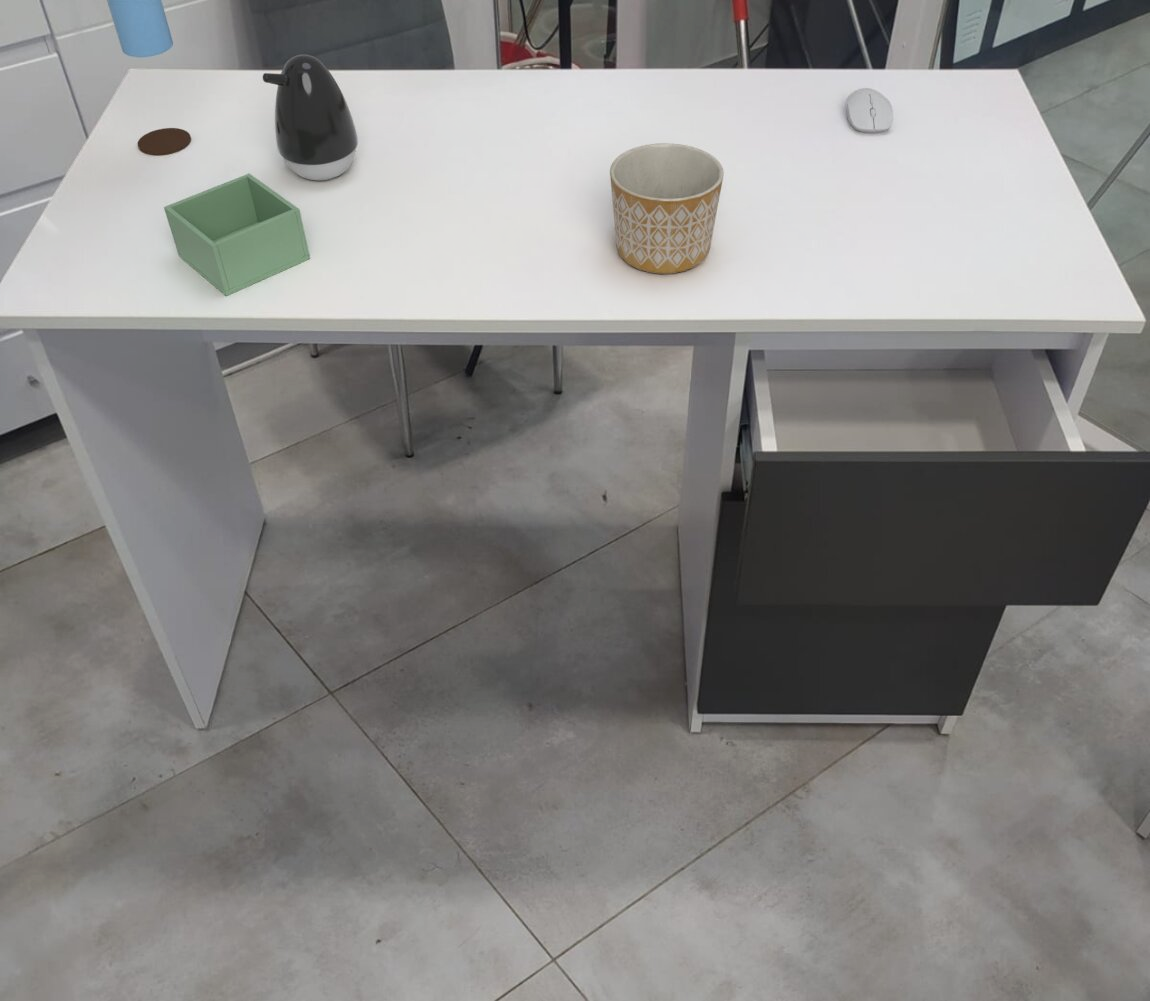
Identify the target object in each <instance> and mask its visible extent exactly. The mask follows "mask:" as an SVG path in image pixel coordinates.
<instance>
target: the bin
mask: <svg viewBox="0 0 1150 1001" xmlns="http://www.w3.org/2000/svg"><path fill="white" fill-rule="evenodd" d="M163 210H164V212H165V216H166V219H167V222H168V225H169V229H170V231H171V232H170V233H171V236H172V238H173V241H174V242H173V243H174V245H175V248H176V252H177V254H178V257H179V258H180V259H181V260H183V262H185V263H186V264H187V265H188V266H190V267H191V268H192V269H193V270H195V271H196V272H197V273H198V274H199V275H201V276H202V278H204V279H205V280H206V281H207V282H208V283H210V284H211V285H212V286H214V288H215V289H216V290H218V291H219V292H221V293H222V294H223V295H224V296H225V297H228V296H230V295H232V294H234V293H236V292H237V293H238V291H241V290H243V289H246V288H248V287H250V286H252V285H254V284H257V283H259V282H262V281H263V280H266V279H268V278H270V277H273V276H274V275H277V274H279V273H282V272H283V271H285V270H287V269H290V268H293V267H294V266H296V265H297V266H298V265H299V264H301V263H303V262H306V261H308V260H310V259H311V256H310V251H309V247H308V242H307V237H306V234H305V233H306V232H305V229H304V224H303V219H302V214H301V209H300V208H299V207H297V206H296V205H295V204H293V203H292V202H290V201H289V200H288V199H286V198H285V197H283V196H282V195H281V194H279V193H278V192H276V191H275V190H273V189H272V188H271V187H269V186H268V185H266V184H265V183H264V182H262V180H259V179H258V178H257V177H255V176H254V175H253V174H251V173H246V174H244V175H241V176H239V177H236V178H234V179H231V180H229V181H226V182H224V183H221V184H219V185H216V186H214V187H211V188H208V189H206V190H204V191H201V192H199V193H196V194H193V195H192V196H191V195H190V196H189V197H186V198H183V199H180V200H179V201H176V202H173V203H171V204H168V205H166V206H164V207H163Z"/></svg>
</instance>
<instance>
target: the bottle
mask: <svg viewBox="0 0 1150 1001" xmlns="http://www.w3.org/2000/svg"><path fill="white" fill-rule="evenodd" d="M106 2H107V5H108V8H109V12H110V15H111V18H112V22H113V25H114V29H115V32H116V35H117V38H118V41H119V44H120V47H121V51H122V53H123V55H126V56H128V57H133V58H150V57H155V56H159V55H163V53H166V52H168V51H169V50H171V49H172V47H173V45H174V41H173V37H172V34H171V30H170V27H169V23H168V19H167V16H166V12H165V8H164V5H163V0H106Z"/></svg>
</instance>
